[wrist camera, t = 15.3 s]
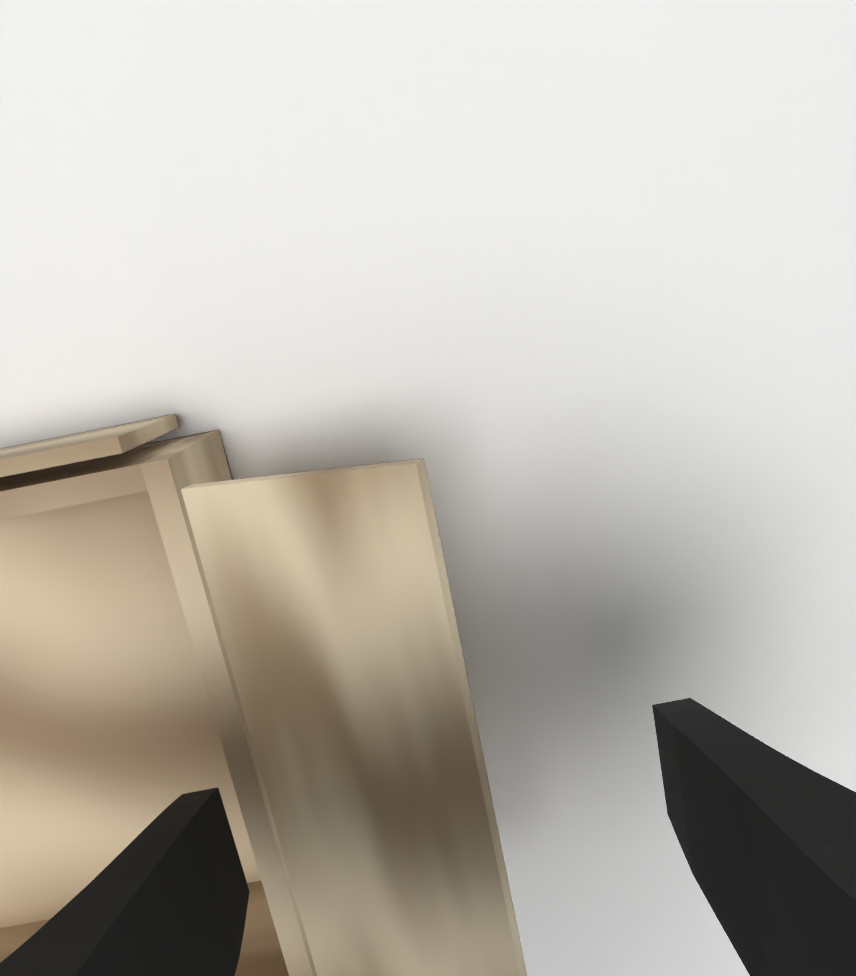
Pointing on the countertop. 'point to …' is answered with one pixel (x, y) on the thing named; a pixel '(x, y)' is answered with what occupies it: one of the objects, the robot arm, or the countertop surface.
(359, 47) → the countertop surface
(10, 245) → the countertop surface
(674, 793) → the robot arm
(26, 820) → the carton
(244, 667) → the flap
